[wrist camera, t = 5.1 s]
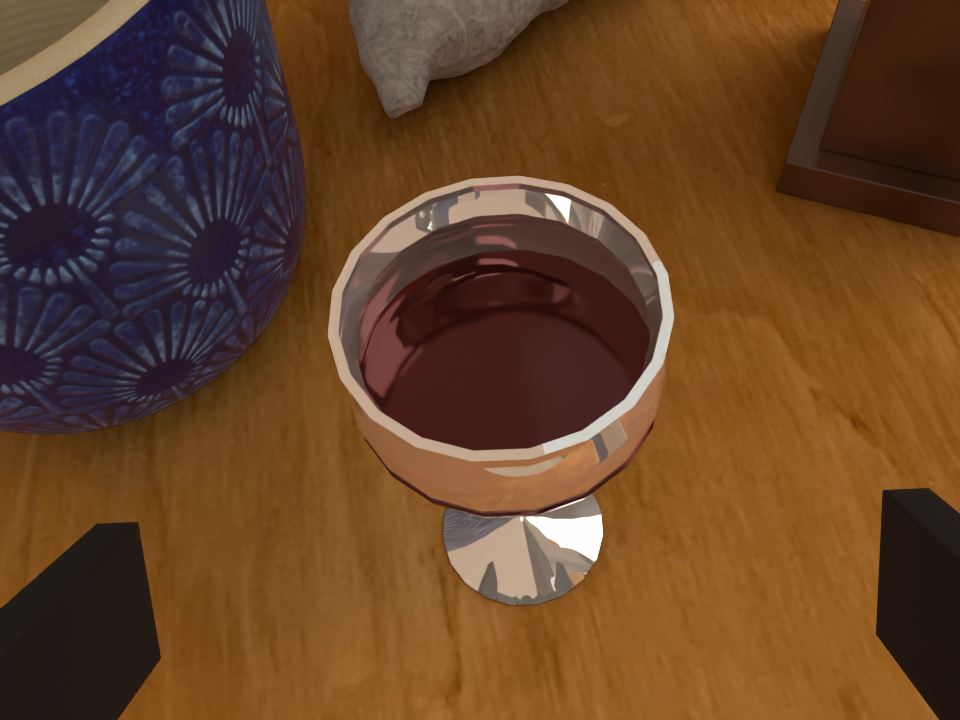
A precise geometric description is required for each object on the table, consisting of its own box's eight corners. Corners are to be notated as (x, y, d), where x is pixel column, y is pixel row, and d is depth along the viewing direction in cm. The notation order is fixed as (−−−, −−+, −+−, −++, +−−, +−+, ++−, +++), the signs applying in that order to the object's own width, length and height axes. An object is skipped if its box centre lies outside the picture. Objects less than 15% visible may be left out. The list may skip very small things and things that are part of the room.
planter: (97, 613, 26) (-352, 351, 13) (-175, 340, 33) (-656, -16, 20) (449, 254, 33) (375, -163, 20) (162, 83, 39) (-36, -316, 26)
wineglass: (602, 411, 29) (626, 148, 18) (658, 612, 25) (725, 426, 15) (402, 448, 28) (313, 204, 18) (429, 656, 25) (337, 498, 15)
